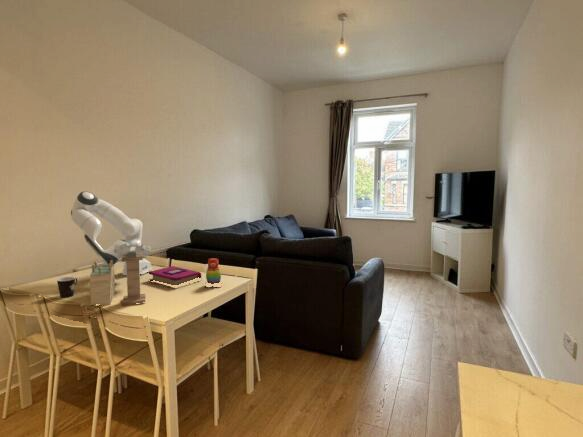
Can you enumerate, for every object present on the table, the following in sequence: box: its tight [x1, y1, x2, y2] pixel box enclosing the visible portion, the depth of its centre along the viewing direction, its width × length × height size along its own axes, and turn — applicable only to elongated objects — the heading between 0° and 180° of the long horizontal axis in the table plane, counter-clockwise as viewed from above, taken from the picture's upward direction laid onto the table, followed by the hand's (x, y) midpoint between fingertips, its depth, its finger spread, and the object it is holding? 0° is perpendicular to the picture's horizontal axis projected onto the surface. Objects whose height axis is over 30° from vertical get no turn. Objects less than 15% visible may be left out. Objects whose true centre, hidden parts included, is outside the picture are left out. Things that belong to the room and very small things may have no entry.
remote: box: [127, 245, 138, 258], centre depth 184 cm, size 22×4×3 cm, turn 22°
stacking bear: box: [205, 257, 222, 284], centre depth 214 cm, size 11×10×18 cm
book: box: [148, 265, 202, 285], centre depth 223 cm, size 21×28×8 cm
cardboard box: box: [89, 260, 116, 306], centre depth 187 cm, size 22×9×20 cm, turn 22°
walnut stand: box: [121, 253, 146, 307], centre depth 183 cm, size 11×11×26 cm
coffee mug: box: [56, 276, 78, 299], centre depth 192 cm, size 12×9×10 cm
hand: (133, 244), depth 202 cm, fingers open, 8 cm apart
